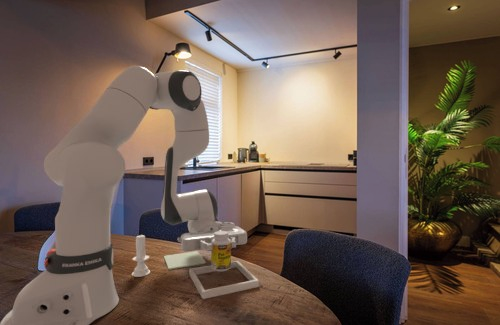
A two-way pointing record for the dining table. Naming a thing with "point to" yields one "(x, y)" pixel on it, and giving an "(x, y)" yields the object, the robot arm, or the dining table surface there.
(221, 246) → the supplement bottle
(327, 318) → the dining table surface
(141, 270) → the candle
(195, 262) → the mat
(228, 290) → the white square frame
